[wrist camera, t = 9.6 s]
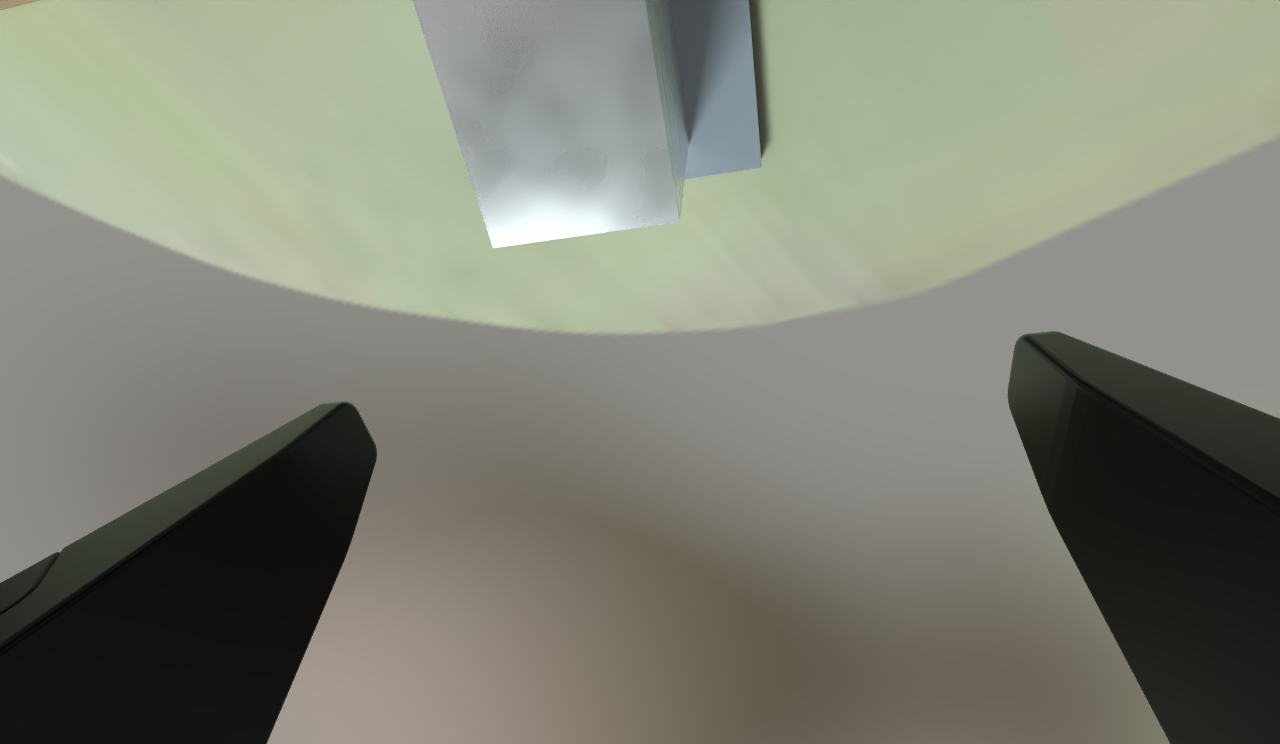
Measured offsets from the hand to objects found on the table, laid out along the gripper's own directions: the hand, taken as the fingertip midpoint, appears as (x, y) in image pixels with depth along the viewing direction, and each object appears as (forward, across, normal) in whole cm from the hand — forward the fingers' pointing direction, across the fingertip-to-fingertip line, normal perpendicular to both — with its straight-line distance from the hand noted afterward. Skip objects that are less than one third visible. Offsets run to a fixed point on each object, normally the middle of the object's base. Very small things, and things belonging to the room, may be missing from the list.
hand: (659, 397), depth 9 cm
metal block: (+11, +2, -4) cm, 12 cm away
